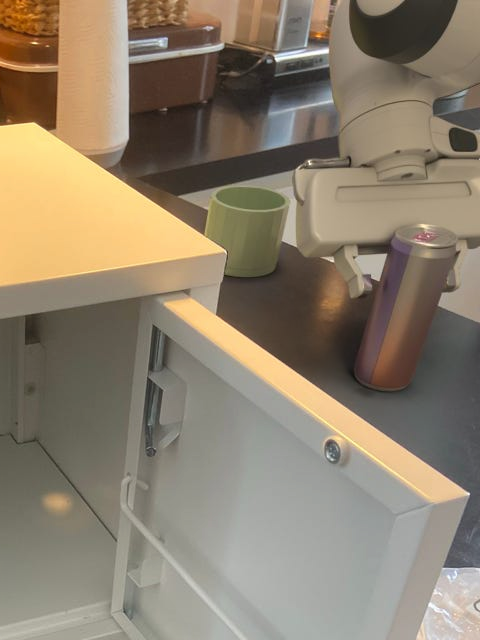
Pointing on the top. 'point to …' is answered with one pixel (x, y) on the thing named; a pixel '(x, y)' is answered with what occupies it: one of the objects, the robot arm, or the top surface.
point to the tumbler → (248, 227)
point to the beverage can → (404, 305)
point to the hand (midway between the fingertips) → (405, 293)
